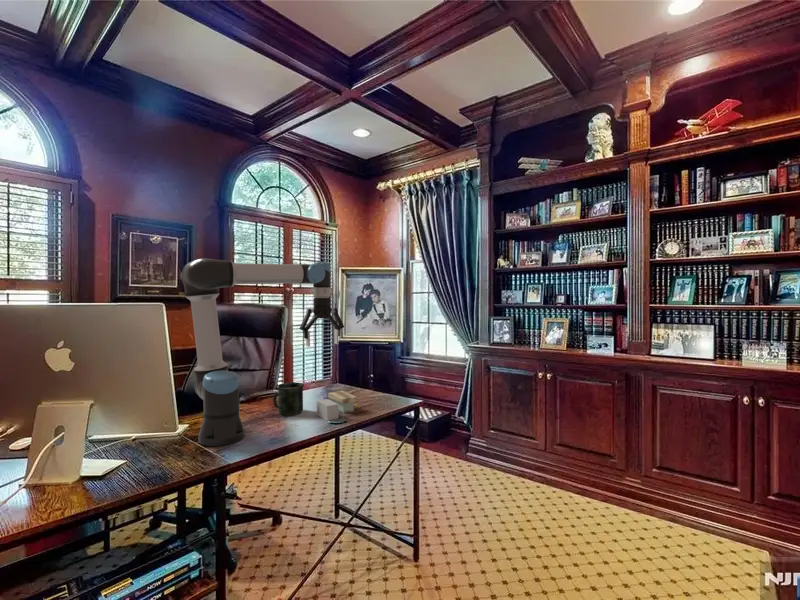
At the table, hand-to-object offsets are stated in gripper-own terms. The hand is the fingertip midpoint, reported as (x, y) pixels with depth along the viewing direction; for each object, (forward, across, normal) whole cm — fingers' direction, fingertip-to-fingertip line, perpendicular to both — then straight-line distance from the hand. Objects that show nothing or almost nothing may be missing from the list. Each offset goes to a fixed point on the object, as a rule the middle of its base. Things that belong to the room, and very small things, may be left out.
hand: (322, 345), depth 184 cm
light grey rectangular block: (+29, -3, -12) cm, 31 cm away
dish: (+29, +7, -5) cm, 30 cm away
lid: (+24, +7, -5) cm, 26 cm away
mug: (+29, -15, +3) cm, 33 cm away
